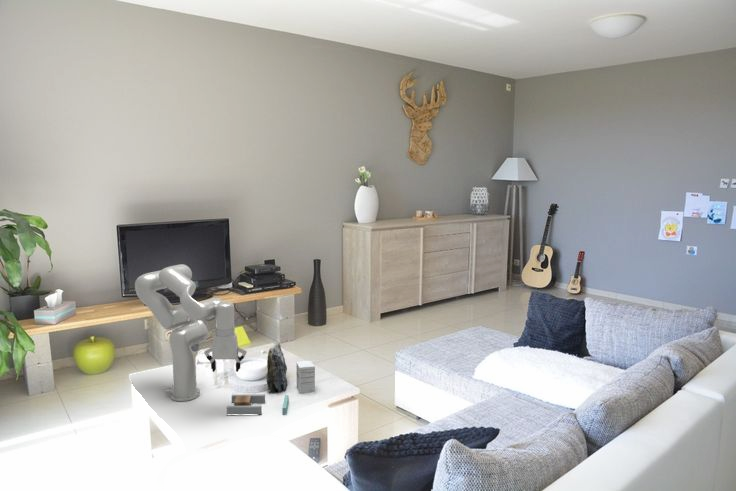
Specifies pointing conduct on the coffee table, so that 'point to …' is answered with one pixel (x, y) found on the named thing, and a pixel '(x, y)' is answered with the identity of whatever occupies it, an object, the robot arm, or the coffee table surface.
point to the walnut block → (242, 401)
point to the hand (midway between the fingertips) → (225, 370)
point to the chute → (247, 409)
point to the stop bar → (285, 405)
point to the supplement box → (305, 377)
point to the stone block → (276, 369)
